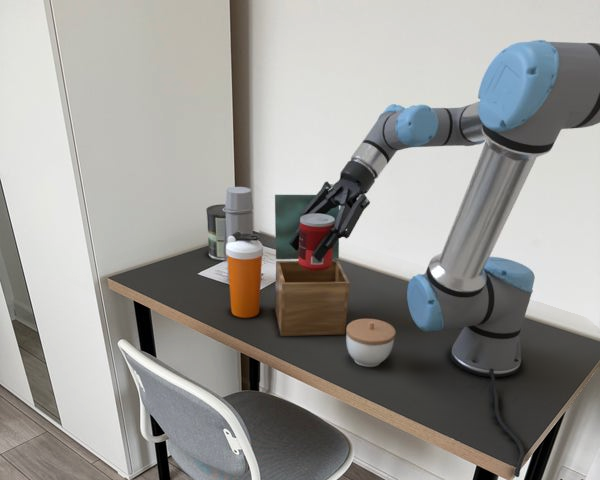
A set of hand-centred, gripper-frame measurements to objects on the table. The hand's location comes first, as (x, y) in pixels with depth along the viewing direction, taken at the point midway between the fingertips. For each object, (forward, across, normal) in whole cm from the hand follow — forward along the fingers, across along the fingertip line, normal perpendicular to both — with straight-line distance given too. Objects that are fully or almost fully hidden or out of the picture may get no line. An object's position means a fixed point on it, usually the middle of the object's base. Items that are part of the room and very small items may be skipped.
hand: (304, 252), depth 133 cm
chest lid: (-7, +9, -4) cm, 12 cm away
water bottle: (+11, +33, -16) cm, 38 cm away
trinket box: (+12, -21, -15) cm, 29 cm away
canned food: (0, 0, -5) cm, 5 cm away
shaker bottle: (+18, +15, -9) cm, 25 cm away
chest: (+11, +1, -16) cm, 19 cm away
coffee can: (+6, +52, -22) cm, 56 cm away
